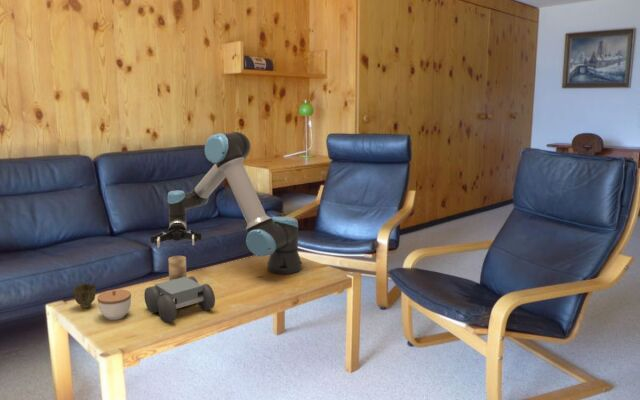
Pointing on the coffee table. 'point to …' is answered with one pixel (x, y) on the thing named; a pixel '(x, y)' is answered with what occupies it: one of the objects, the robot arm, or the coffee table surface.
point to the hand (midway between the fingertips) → (175, 243)
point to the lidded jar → (114, 303)
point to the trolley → (178, 296)
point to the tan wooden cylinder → (177, 267)
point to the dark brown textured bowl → (84, 294)
